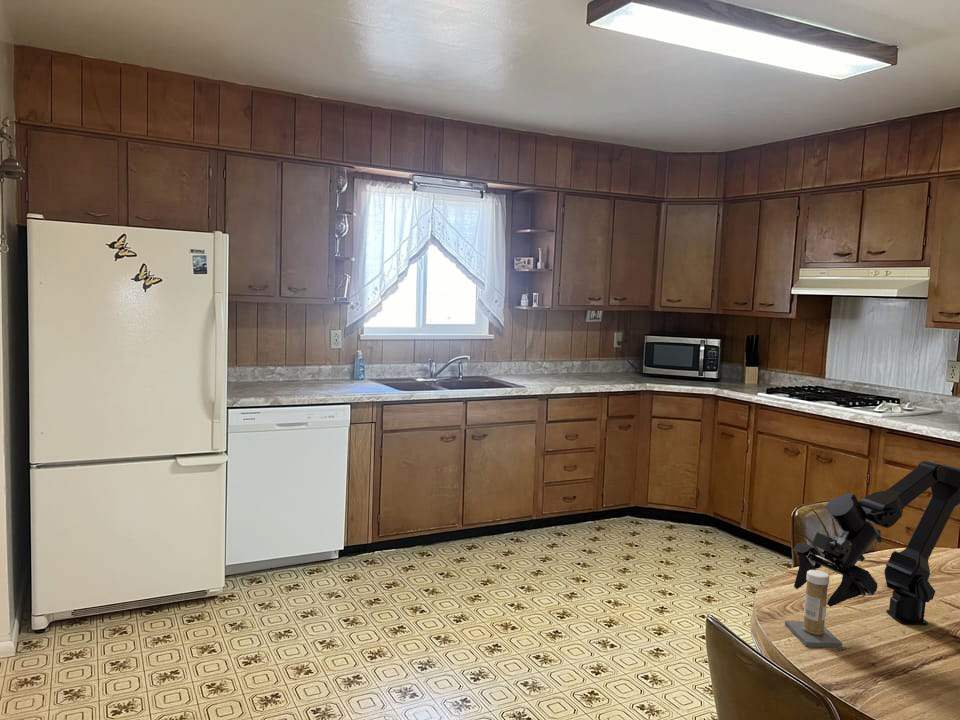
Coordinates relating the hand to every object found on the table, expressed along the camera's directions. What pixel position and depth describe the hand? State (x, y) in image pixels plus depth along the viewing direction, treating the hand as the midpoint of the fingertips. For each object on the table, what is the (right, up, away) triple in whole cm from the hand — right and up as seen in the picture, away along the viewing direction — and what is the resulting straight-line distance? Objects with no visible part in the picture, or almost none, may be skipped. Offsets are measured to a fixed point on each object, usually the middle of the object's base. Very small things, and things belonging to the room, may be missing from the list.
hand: (811, 596), depth 159 cm
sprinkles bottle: (+1, -8, +2) cm, 9 cm away
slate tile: (+1, -9, +1) cm, 9 cm away
